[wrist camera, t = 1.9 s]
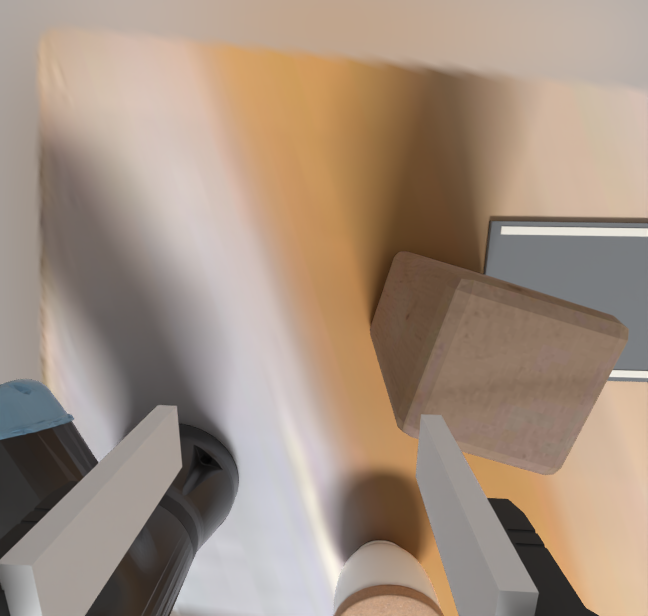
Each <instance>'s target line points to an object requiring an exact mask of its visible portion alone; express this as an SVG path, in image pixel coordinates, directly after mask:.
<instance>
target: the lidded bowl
mask: <svg viewBox="0 0 648 616" xmlns="http://www.w3.org/2000/svg"><path fill="white" fill-rule="evenodd" d="M333 616H444V615H443V613H442V610H441V607H440V603H439V600H438V597H437V594H436V591H435V589H434V587H433V584H432V582H431V580H430V578H429V576H428V574H427V572H426V571H425V570H424V568H423V567H422V565H421V564H420V563H419V561H418V560H417V559H416V558H415V557H414V556H412V555H411V554H410V553H409V552H407V551H406V550H404V549H402V548H401V547H400V546H398V545H397V544H395V543H393V542H390V541H386V540H375V541H370V542H368V543H366V544H364V545H362V546H361V547H360V548H359V549H358V550H357V551H356V552H355V553H354V554H353V555H352V556H351V557H350V558H349V559H348V560H347V562H346V563H345V565H344V566H343V568H342V570H341V573H340V575H339V578H338V582H337V586H336V590H335V597H334V608H333Z"/></svg>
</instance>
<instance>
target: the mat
mask: <svg viewBox="0 0 648 616" xmlns="http://www.w3.org/2000/svg"><path fill="white" fill-rule="evenodd" d="M484 275H487V276H491V277H494V278H497V279H500V280H503V281H506V282H509V283H513V284H516V285H519V286H522V287H525V288H528V289H531V290H535V291H538V292H541V293H544V294H547V295H550V296H553V297H557V298H560V299H563V300H566V301H569V302H572V303H575V304H579V305H582V306H585V307H588V308H591V309H594V310H597V311H601V312H604V313H607V314H610V315H613V316H615V317H616V318H617V319H618V320H619V321H620V322H621V323H622V324H624V325H625V326H626V327H627V328H628V329H629V334H628V342H627V343H626V345H625V347H624V349H623V351H622V353H621V355H620V357H619V359H618V361H617V363H616V364H615V366H614V368H613V370H612V372H611V374H610V376H609V378H608V380H607V381H634V382H648V223H589V222H517V221H490V225H489V233H488V242H487V250H486V259H485V267H484Z"/></svg>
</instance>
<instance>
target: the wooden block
mask: <svg viewBox="0 0 648 616" xmlns="http://www.w3.org/2000/svg"><path fill="white" fill-rule="evenodd" d="M628 334H629V329H628V328H627V327H626V326H625V325H624V324H622V323H621V322H620V321H619V320H618V319H617V318H616V317H615V316H613V315H610V314H607V313H604V312H601V311H597V310H594V309H591V308H588V307H585V306H582V305H579V304H575V303H572V302H569V301H566V300H563V299H560V298H557V297H553V296H550V295H547V294H544V293H541V292H538V291H535V290H531V289H528V288H525V287H522V286H519V285H516V284H513V283H509V282H506V281H503V280H500V279H497V278H494V277H491V276H487V275H484V274H481V273H478V272H475V271H471V270H468V269H465V268H461V267H458V266H455V265H451V264H448V263H445V262H441V261H438V260H435V259H431V258H428V257H425V256H421V255H418V254H415V253H411V252H408V251H402V252H398V253H397V254H396V256H395V257H394V259H393V262H392V265H391V268H390V271H389V274H388V276H387V279H386V282H385V285H384V288H383V291H382V294H381V297H380V300H379V303H378V306H377V309H376V312H375V315H374V318H373V321H372V324H371V327H370V335H371V338H372V342H373V345H374V348H375V352H376V355H377V358H378V362H379V365H380V369H381V372H382V375H383V379H384V382H385V385H386V389H387V392H388V395H389V399H390V402H391V405H392V409H393V412H394V415H395V419H396V422H397V426H398V427H399V428H400V429H401V430H402V431H403V432H405V433H406V434H408V435H409V436H411V437H413V438H416V439H419V433H420V421H421V414H424V415H442V417H443V419H444V421H445V423H446V425H447V426H448V428H449V430H450V432H451V434H452V435H453V437H454V439H455V441H456V443H457V445H458V446H459V448H460V450H461V451H462V452H465V453H469V454H472V455H476V456H479V457H483V458H486V459H490V460H493V461H497V462H500V463H504V464H507V465H511V466H514V467H518V468H521V469H525V470H528V471H532V472H535V473H539V474H542V475H551V474H554V473H555V472H557V471H558V470H559V469H561V467H562V465H563V463H564V462H565V460H566V458H567V456H568V454H569V452H570V450H571V448H572V446H573V444H574V442H575V441H576V439H577V437H578V435H579V433H580V431H581V429H582V427H583V425H584V423H585V422H586V420H587V418H588V416H589V414H590V412H591V410H592V408H593V406H594V404H595V403H596V401H597V399H598V397H599V395H600V393H601V391H602V389H603V387H604V385H605V383H606V382H607V380H608V378H609V376H610V374H611V372H612V370H613V368H614V366H615V364H616V363H617V361H618V359H619V357H620V355H621V353H622V351H623V349H624V347H625V345H626V343H627V342H628Z"/></svg>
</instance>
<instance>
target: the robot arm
mask: <svg viewBox="0 0 648 616" xmlns="http://www.w3.org/2000/svg"><path fill="white" fill-rule="evenodd" d="M72 420H74V418H73V416H72V415H71V414H67V413H66V411H65V410H64V409H63V407H62V406H61V405H60V403H59V402H58V401H57V399H56V398H55V397H54V395H53V394H52V393H51V391H50V390H49V389H48V388H47V387H46V386H45V385H44V384H42V383H41V382H39V381H36V380H32V379H18V380H14V381H10V382H7V383H4V384H1V385H0V616H170V614H171V611H172V609H173V606H174V604H175V602H176V599H177V597H178V595H179V592H180V590H181V587H182V585H183V583H184V580H185V578H186V575H187V573H188V571H189V568H190V566H191V563H192V561H193V559H194V557H195V554H196V552H197V551H198V550H199V549H200V547H201V546H202V545H203V544H204V543H205V542H206V541H207V540H208V539H209V537H210V536H211V535H212V534H213V533H214V532H215V530H216V529H217V528H218V527H219V526H220V525H221V524H222V523H223V522H224V520H225V519H226V517H227V516H228V514H229V512H230V510H231V508H232V505H233V503H234V500H235V497H236V495H237V491H238V473H237V468H236V465H235V463H234V461H233V459H232V457H231V455H230V454H229V452H228V451H227V449H226V448H225V447H224V446H223V445H222V444H221V443H220V442H219V441H218V440H217V439H215V438H214V437H213V436H211V435H210V434H208V433H206V432H204V431H202V430H200V429H198V428H195V427H192V426H188V425H183V424H178V413H177V406H169V405H157V406H156V407H155V408H154V409H153V410H152V411H151V412H150V413H149V414H148V415H147V416H146V417H145V418H144V419H143V420H142V421H141V422H140V423H139V424H138V425H137V426H136V427H135V428H134V429H133V430H132V431H131V432H130V433H129V434H128V435H127V436H126V437H125V438H124V439H123V440H122V441H121V442H120V443H119V444H118V445H117V446H116V447H115V448H113V449H112V450H111V451H110V452H109V453H108V454H107V455H106V456H105V457H104V458H103V459H102V460H101V461H100V462H99V463H98V461H97V460H96V458H95V457H94V455H93V454H92V452H91V450H90V449H89V447H88V446H87V444H86V443H85V441H84V439H83V438H82V436H81V435H80V433H79V432H78V430H77V428H76V427H75V425H74V424H73V422H72ZM416 479H417V482H418V486H419V489H420V492H421V495H422V498H423V502H424V505H425V508H426V511H427V515H428V518H429V521H430V524H431V527H432V531H433V534H434V537H435V540H436V543H437V547H438V550H439V553H440V556H441V560H442V563H443V566H444V569H445V572H446V576H447V579H448V582H449V585H450V589H451V592H452V595H453V598H454V601H455V605H456V608H457V611H458V614H459V616H599V615H597V614H595V613H594V612H592V611H590V610H588V609H587V608H586V607H585V606H584V605H583V603H582V601H581V600H580V598H579V597H578V595H577V594H576V592H575V591H574V589H573V588H572V586H571V585H570V583H569V582H568V580H567V578H566V577H565V575H564V574H563V572H562V571H561V569H560V568H559V566H558V565H557V563H556V562H555V560H554V558H553V557H552V555H551V554H550V552H549V551H548V549H547V548H545V546H544V543H543V542H542V540H541V538H540V537H539V535H538V534H536V533H535V529H534V528H533V526H532V525H531V523H530V522H529V520H528V519H527V517H526V515H525V514H524V513H523V512H522V511H521V510H520V509H519V508H517V507H516V506H515V505H514V504H513V503H512V502H511V501H510V500H508V499H497V498H487V497H486V496H485V494H484V492H483V490H482V488H481V486H480V485H479V483H478V481H477V479H476V477H475V476H474V474H473V472H472V470H471V468H470V466H469V465H468V463H467V461H466V459H465V457H464V455H463V454H462V452H461V450H460V448H459V446H458V445H457V443H456V441H455V439H454V437H453V435H452V434H451V432H450V430H449V428H448V426H447V425H446V423H445V421H444V419H443V417H442V415H424V414H421V421H420V433H419V444H418V456H417V467H416Z"/></svg>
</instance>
